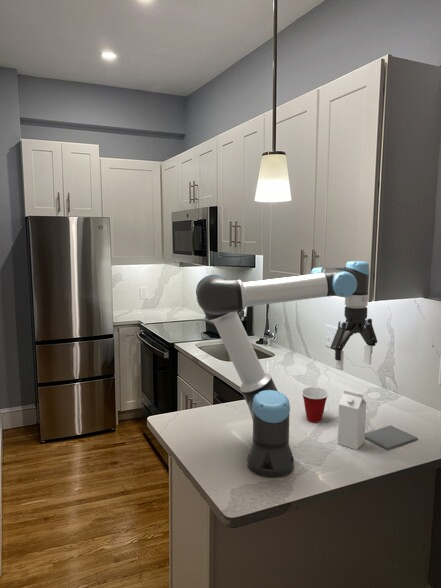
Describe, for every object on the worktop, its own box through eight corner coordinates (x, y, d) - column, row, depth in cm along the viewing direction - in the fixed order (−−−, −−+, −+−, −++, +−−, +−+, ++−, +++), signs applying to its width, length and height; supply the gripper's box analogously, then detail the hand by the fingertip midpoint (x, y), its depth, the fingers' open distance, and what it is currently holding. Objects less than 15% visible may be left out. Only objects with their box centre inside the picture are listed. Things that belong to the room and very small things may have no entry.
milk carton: (345, 437, 165) (347, 387, 163) (364, 442, 161) (366, 392, 158) (337, 444, 160) (339, 393, 157) (356, 450, 155) (358, 397, 153)
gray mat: (387, 450, 155) (387, 448, 155) (360, 436, 165) (360, 434, 165) (417, 439, 163) (417, 437, 163) (390, 427, 173) (390, 425, 173)
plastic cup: (299, 424, 176) (300, 395, 175) (301, 413, 187) (301, 385, 185) (328, 426, 174) (329, 397, 172) (327, 415, 184) (328, 387, 183)
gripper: (337, 311, 144) (335, 374, 147) (389, 304, 157) (386, 363, 160) (321, 307, 151) (319, 368, 154) (372, 301, 163) (370, 358, 166)
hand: (353, 366), depth 157 cm, fingers open, 13 cm apart
